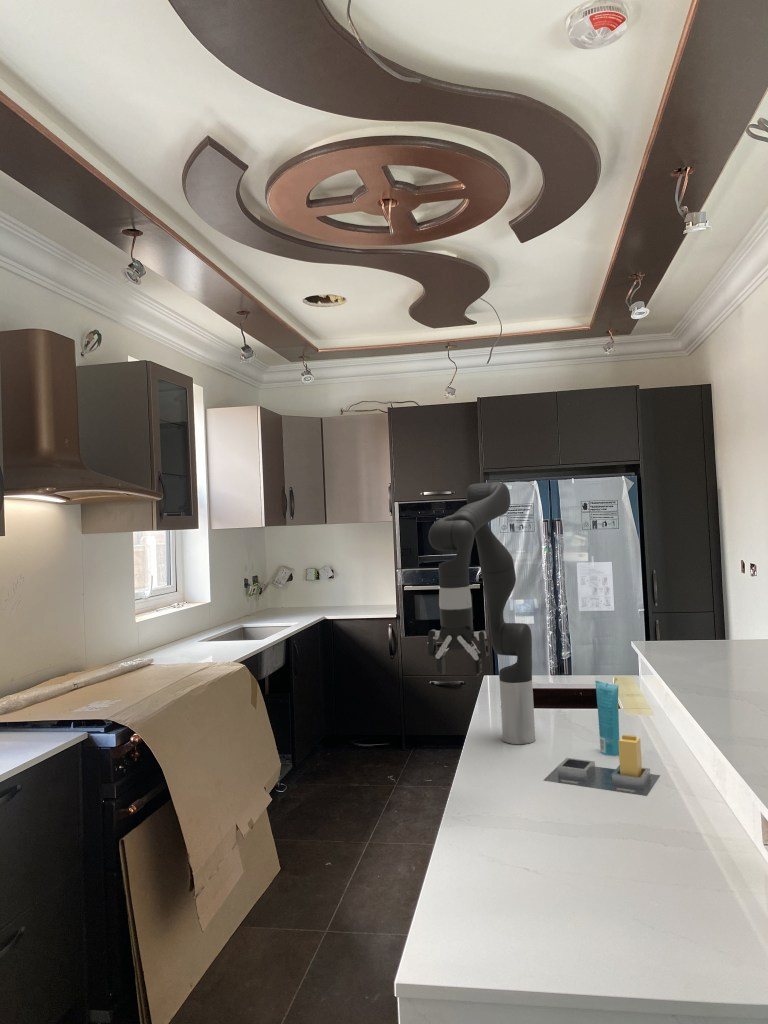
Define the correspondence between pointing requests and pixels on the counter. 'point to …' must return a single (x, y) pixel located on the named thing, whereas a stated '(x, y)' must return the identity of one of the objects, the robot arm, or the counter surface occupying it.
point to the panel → (601, 777)
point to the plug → (630, 755)
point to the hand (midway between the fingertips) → (459, 674)
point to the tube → (608, 717)
